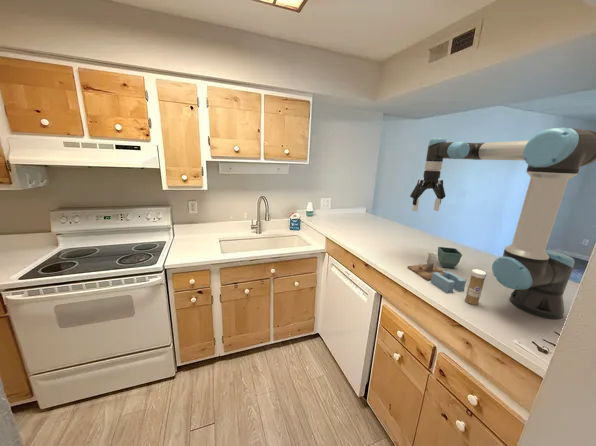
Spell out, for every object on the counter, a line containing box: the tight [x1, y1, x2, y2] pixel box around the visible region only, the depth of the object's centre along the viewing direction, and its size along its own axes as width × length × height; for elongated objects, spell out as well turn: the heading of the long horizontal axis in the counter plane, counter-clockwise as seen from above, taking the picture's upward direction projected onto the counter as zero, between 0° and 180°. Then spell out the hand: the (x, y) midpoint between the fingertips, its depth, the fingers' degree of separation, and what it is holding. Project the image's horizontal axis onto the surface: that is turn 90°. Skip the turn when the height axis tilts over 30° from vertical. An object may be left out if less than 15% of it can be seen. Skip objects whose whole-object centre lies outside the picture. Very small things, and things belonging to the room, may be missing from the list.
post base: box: [407, 252, 444, 282], centre depth 119 cm, size 14×14×10 cm
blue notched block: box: [430, 270, 467, 294], centre depth 107 cm, size 9×9×5 cm
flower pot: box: [437, 246, 463, 269], centre depth 128 cm, size 9×9×9 cm
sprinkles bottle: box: [464, 268, 487, 306], centre depth 95 cm, size 5×5×14 cm
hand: (425, 210), depth 129 cm, fingers open, 13 cm apart
